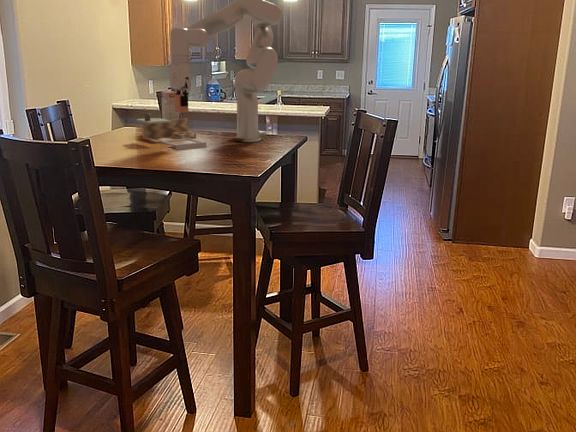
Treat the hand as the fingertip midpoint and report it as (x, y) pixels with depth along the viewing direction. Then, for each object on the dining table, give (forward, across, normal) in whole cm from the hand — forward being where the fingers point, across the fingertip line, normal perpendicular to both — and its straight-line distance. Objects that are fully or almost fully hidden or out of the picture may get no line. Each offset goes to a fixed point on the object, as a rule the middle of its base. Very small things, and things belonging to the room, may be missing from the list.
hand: (181, 105), depth 232 cm
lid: (+8, -16, -5) cm, 19 cm away
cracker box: (+17, -32, +11) cm, 38 cm away
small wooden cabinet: (+17, -16, +3) cm, 24 cm away
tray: (+17, 0, 0) cm, 17 cm away
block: (+3, 0, 0) cm, 3 cm away
